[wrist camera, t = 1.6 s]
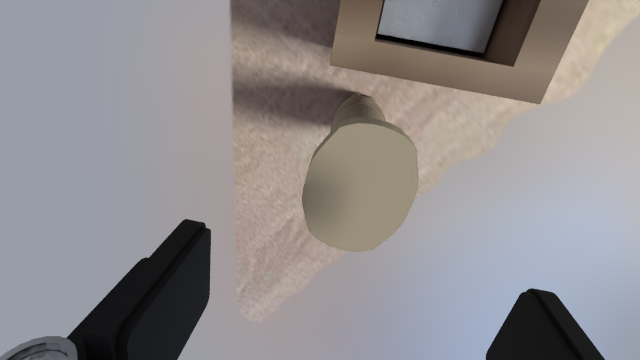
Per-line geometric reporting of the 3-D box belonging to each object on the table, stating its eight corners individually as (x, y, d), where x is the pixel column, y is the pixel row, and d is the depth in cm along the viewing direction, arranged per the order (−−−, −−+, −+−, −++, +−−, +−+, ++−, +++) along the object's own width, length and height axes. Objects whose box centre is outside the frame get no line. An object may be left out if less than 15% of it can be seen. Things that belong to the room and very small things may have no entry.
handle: (321, 137, 29) (290, 235, 16) (342, 65, 26) (324, 109, 13) (373, 152, 29) (385, 262, 16) (399, 81, 26) (440, 142, 13)
